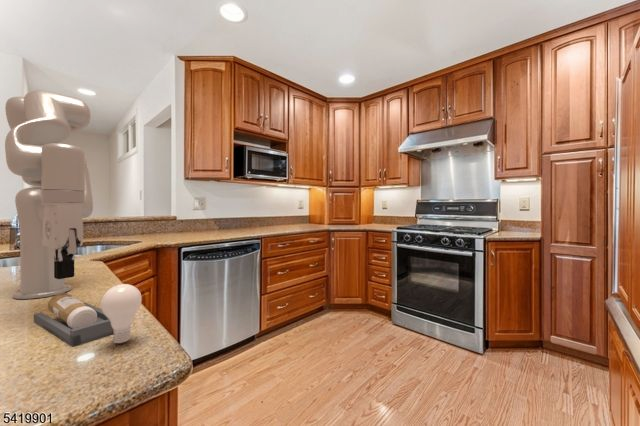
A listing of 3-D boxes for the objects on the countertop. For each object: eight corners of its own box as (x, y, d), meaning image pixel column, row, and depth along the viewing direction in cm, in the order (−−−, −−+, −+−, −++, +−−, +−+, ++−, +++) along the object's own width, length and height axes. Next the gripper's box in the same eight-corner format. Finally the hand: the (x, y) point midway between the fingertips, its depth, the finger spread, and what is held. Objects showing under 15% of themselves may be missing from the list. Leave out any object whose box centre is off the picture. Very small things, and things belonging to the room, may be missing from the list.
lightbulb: (121, 352, 51) (121, 289, 51) (91, 349, 52) (91, 288, 52) (149, 337, 57) (149, 281, 57) (122, 334, 58) (122, 279, 58)
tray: (33, 321, 65) (33, 309, 65) (85, 309, 73) (85, 298, 73) (72, 346, 53) (72, 331, 53) (128, 328, 61) (128, 315, 61)
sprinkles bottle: (43, 312, 63) (66, 332, 56) (51, 291, 64) (75, 308, 57) (68, 312, 67) (93, 331, 60) (76, 292, 68) (101, 308, 61)
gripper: (31, 198, 68) (31, 276, 68) (54, 197, 60) (55, 286, 60) (71, 199, 74) (72, 270, 75) (97, 199, 66) (97, 279, 67)
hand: (64, 277), depth 68 cm, fingers closed
